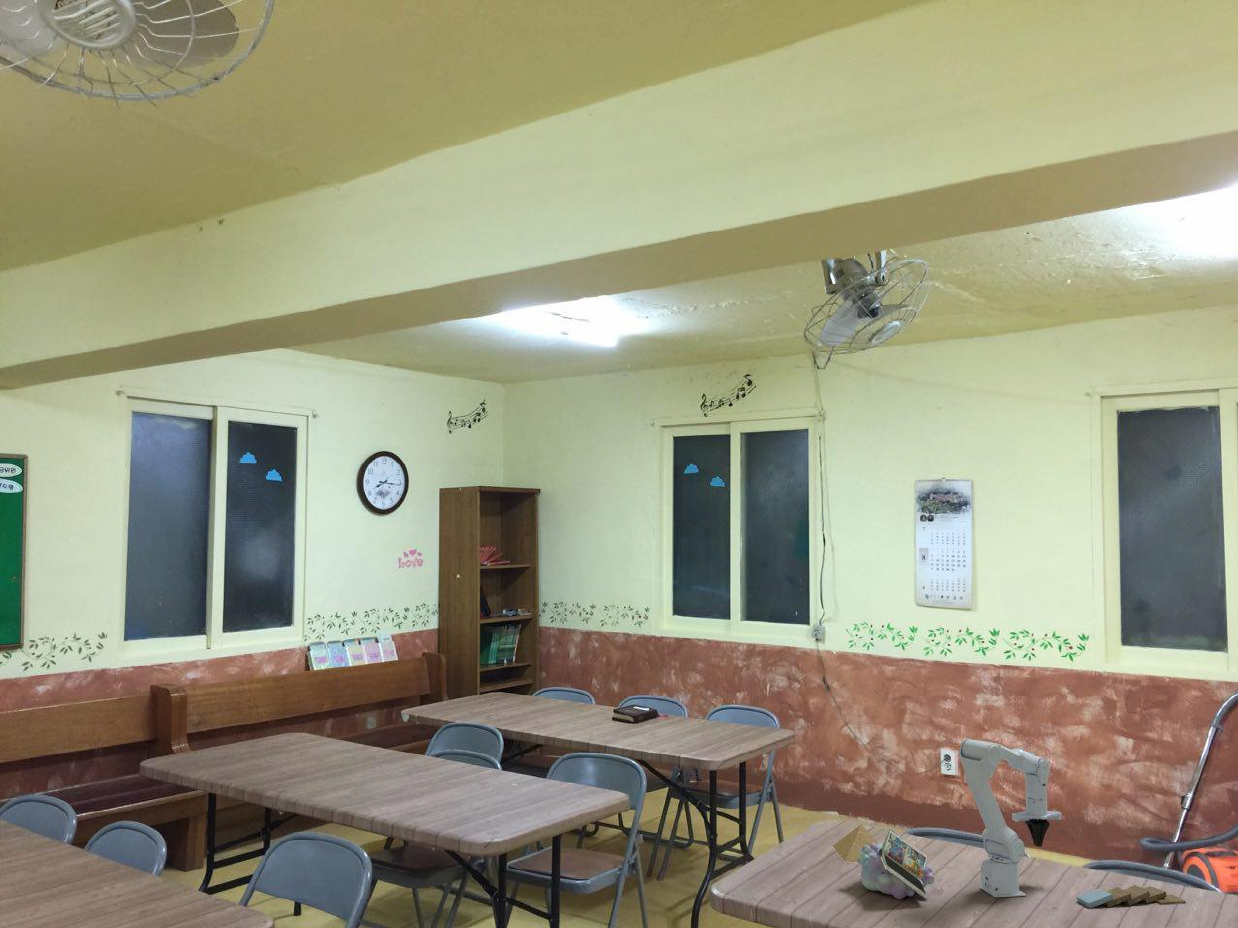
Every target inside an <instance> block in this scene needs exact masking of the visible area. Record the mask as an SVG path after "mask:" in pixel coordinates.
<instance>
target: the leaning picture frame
mask: <svg viewBox="0 0 1238 928" xmlns="http://www.w3.org/2000/svg"><path fill="white" fill-rule="evenodd" d="M859 855H860V856H862V857H861V858H857V862H858V863H859V865H861V867H862V868H861V871H860V872H861V873H860V877H861V884H862V885H863V886H864V887H865V888H866V889H867V890H870V891H872V892H881V893H882V894H885V895H889V896H890V895H892V896H893V897H894V899H897V900H903V899H905V897H913V896H914V894H915V893H917V894H918V895H919V896H920V897H922V898H923V899H925V900H927V897H926V891H925V888H926V887H927V886H928V885H932V884H934V883H935V882H936V881H935V879H936V878H935V876H934V875H933V866H932V865H930V864H927V862H928V858H929V856H927V854H925V853H924V852H923V851H922V850H920V849H918V848H917V847H916V846H914V845H913V844H912V843H911V842H910V841H908V840H907V839H906V838H904V837H903V836H902V835H900V834H898V833H897V832H895V830H893V829H892V828H890V827H888V829H887V832H886V834H885V837H884V840H883V842H882V843H878V845H877V844H875V843H874V842H872V843H871V846H870V847H869V846H868V845H863V848H861V849H859Z"/></svg>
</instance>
